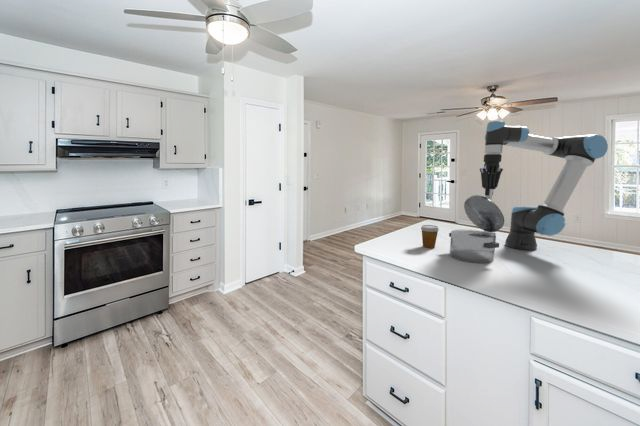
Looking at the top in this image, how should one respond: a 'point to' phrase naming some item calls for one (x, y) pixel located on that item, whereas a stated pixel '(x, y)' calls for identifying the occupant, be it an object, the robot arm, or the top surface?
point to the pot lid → (484, 213)
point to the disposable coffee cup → (429, 236)
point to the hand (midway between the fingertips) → (488, 201)
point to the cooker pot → (473, 245)
